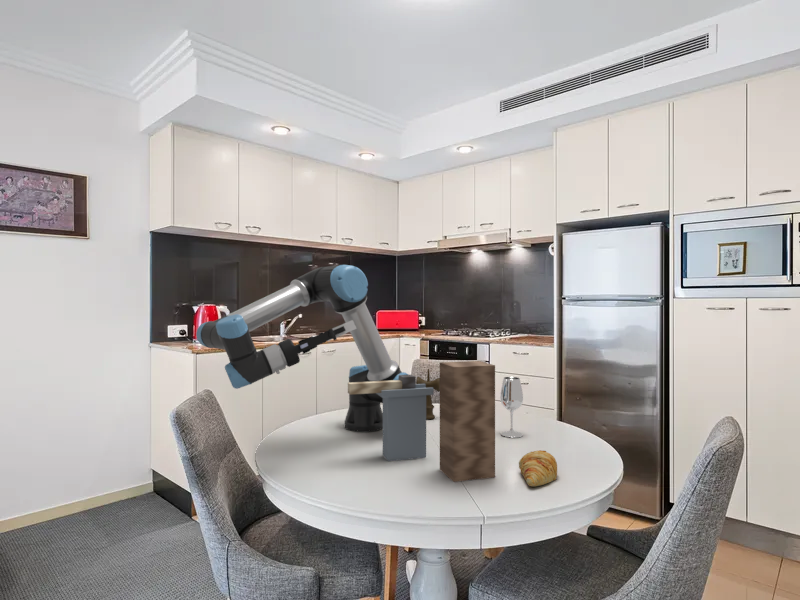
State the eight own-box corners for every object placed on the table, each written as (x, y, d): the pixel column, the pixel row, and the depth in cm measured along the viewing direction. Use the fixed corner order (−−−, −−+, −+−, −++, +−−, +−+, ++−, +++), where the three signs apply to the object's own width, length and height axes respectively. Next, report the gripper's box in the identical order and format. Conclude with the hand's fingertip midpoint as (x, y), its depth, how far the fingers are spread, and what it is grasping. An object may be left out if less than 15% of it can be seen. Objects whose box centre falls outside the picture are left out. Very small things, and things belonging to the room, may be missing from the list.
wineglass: (521, 432, 178) (521, 376, 177) (524, 438, 170) (524, 380, 170) (499, 431, 178) (499, 376, 178) (501, 437, 171) (501, 379, 170)
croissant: (542, 505, 123) (558, 479, 121) (507, 481, 127) (521, 456, 125) (554, 475, 142) (567, 453, 141) (522, 455, 146) (535, 433, 144)
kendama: (417, 416, 202) (417, 367, 202) (441, 417, 200) (441, 367, 200) (415, 419, 196) (415, 369, 196) (439, 420, 194) (439, 369, 194)
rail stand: (382, 462, 144) (382, 390, 144) (375, 454, 152) (375, 386, 152) (433, 457, 149) (433, 388, 149) (424, 450, 157) (424, 383, 157)
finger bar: (350, 395, 143) (350, 379, 143) (347, 392, 148) (347, 377, 148) (415, 391, 149) (415, 376, 149) (411, 388, 153) (411, 374, 153)
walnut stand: (453, 481, 129) (453, 367, 129) (439, 469, 139) (439, 362, 139) (495, 477, 133) (495, 365, 133) (478, 465, 142) (478, 360, 142)
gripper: (283, 369, 152) (345, 341, 160) (291, 366, 129) (364, 334, 136) (273, 346, 153) (336, 320, 160) (280, 339, 129) (353, 309, 137)
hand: (349, 326), depth 148 cm, fingers open, 13 cm apart
